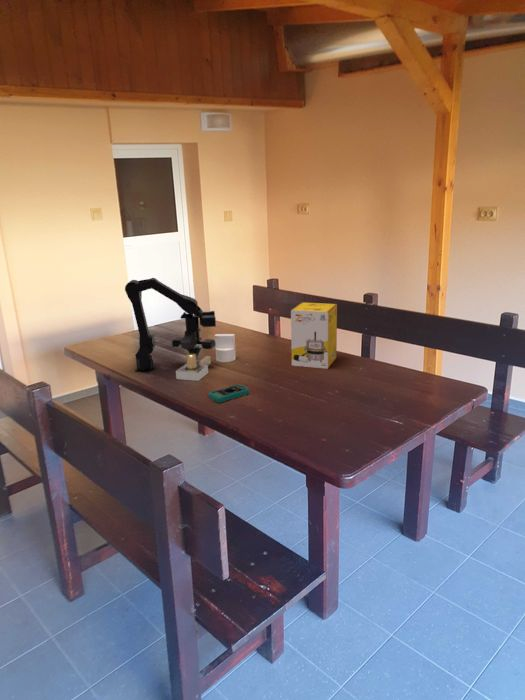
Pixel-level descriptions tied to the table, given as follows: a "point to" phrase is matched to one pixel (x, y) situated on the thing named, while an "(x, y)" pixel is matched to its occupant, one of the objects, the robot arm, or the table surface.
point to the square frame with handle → (194, 375)
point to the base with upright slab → (225, 347)
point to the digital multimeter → (228, 393)
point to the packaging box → (314, 335)
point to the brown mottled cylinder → (191, 361)
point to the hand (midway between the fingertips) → (194, 361)
